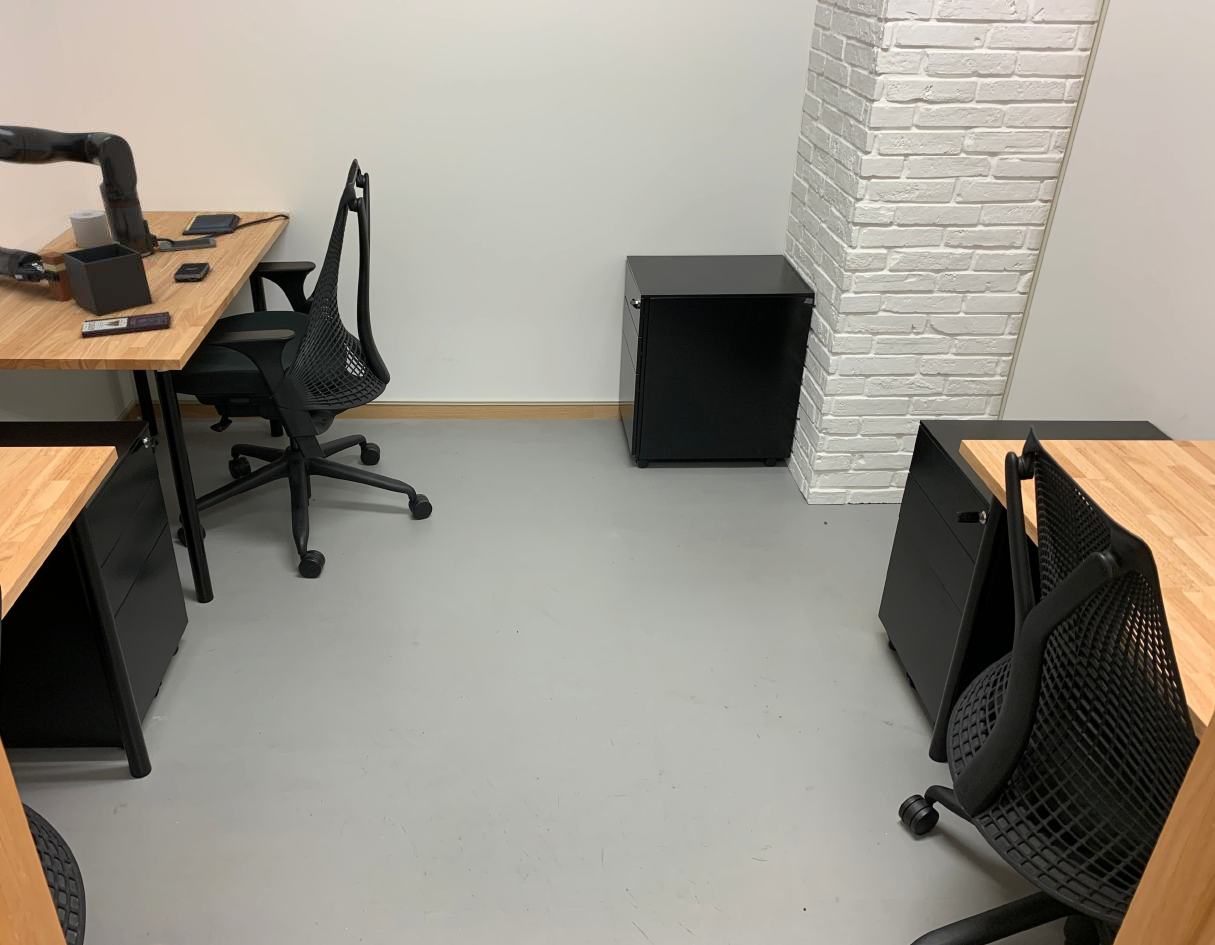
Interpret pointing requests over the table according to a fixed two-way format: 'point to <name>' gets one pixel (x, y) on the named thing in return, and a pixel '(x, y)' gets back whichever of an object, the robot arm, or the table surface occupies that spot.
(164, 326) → the chocolate bar
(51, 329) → the table surface
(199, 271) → the external hard drive
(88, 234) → the toilet tissue
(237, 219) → the dark blue book
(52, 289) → the chocolate box
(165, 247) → the smartphone
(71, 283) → the trash can
